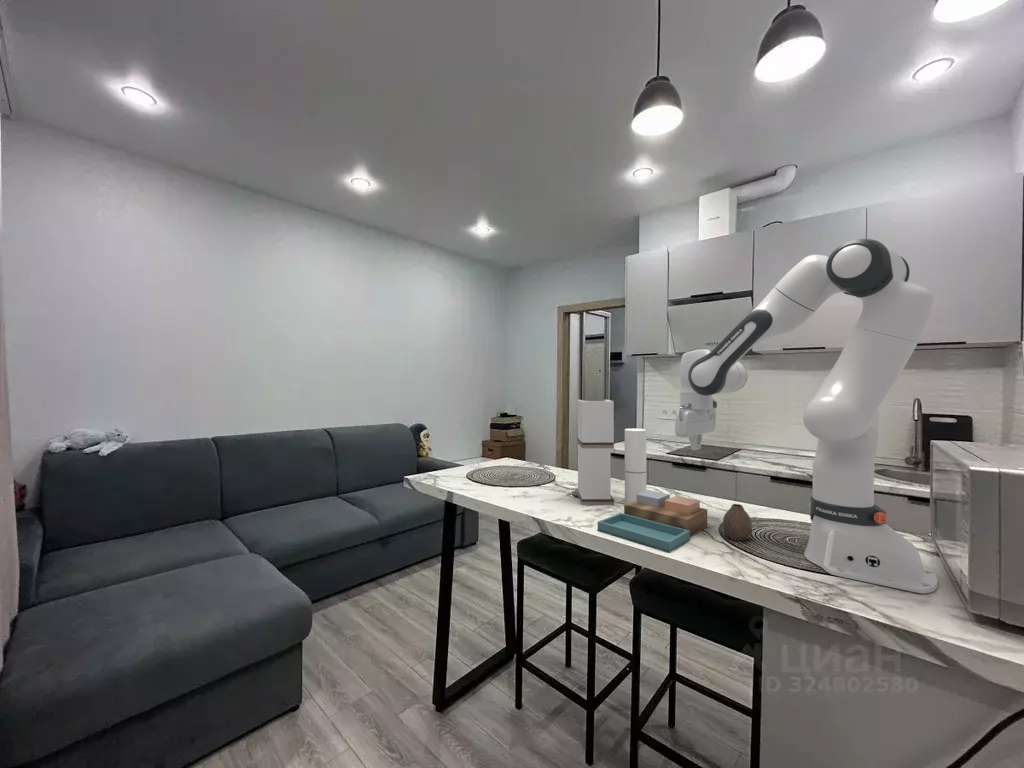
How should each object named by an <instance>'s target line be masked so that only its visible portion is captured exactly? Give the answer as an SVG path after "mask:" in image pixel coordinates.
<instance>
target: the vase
mask: <svg viewBox="0 0 1024 768" xmlns="http://www.w3.org/2000/svg"><path fill="white" fill-rule="evenodd" d="M722 528H723V531H724V533H725V534H726V536H727V537H728V538H729V537H730V538H729V539H731V538H733V539H736V540H735V541H738V540H744V541H746V540H748V539H749V538H750V537H751V535H752V533H753V522H752V519H751V517H750V515H749V514H748V512H747V511H746V510H745V508H744V506H743V505H742V504H739V503H733V504H732V505H731V507H730V508H729V509H728V510H727V511H726V512H725V514H724V516H723V519H722ZM733 539H732V540H733Z"/></svg>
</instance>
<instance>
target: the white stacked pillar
mask: <svg viewBox="0 0 1024 768" xmlns="http://www.w3.org/2000/svg"><path fill="white" fill-rule="evenodd" d="M614 404H615V403H614V400H611V399H604V400H582V399H577V406H576V407H577V497H578V496H579V497H578V499H579V501H580V503H581V505H582V506H614V505H615V498H614V497H613V495H612V493H611V484H612V483H611V479H612V478H611V475H612V474H611V454H612V453H615V446H614V445H615V440H614V439H615V437H614V436H615V434H614V433H615V432H614V431H615V427H614V426H615V424H614V422H615V420H614V418H615V414H614V413H615V412H614V410H615V409H614V408H615V405H614Z"/></svg>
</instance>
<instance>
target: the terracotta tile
mask: <svg viewBox="0 0 1024 768" xmlns="http://www.w3.org/2000/svg"><path fill="white" fill-rule="evenodd" d="M700 508H701V500H697V499H695V498H690V497H689V498H688V497H683V496H679V495H675V496H672V497H670V499H667V500H665V509H666V510H671V511H675V512H679V513H684V514H688V515H689V514H691V513H693V512H695V511H697V510H699V509H700Z"/></svg>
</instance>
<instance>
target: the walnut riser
mask: <svg viewBox="0 0 1024 768" xmlns="http://www.w3.org/2000/svg"><path fill="white" fill-rule="evenodd" d="M623 513H624V514H627V515H631V516H635V517H639V518H643V519H647V520H651V521H655V522H658V523H662V524H666V525H670V526H674V527H678V528H682V529H686V530H689V531H690V538H691V537H693V536H694V535H696V534H698V533H700V532H701V531H702V530H704V529H706V528H708V508H703V507H700V509H699V510H697V511H695V512H693V513H691V514H689V515H688V514H684V513H679V512H675V511H671V510H666V509H665V505H663V506H661V507H659V508H658V507H653V506H649V505H645V504H640V503H637V500H635V501H633V502H630V503H625V504H624V505H623Z"/></svg>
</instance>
